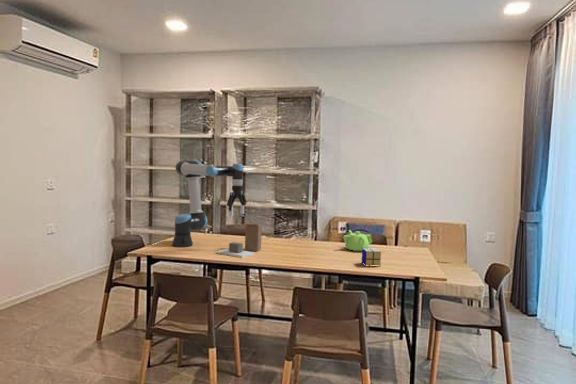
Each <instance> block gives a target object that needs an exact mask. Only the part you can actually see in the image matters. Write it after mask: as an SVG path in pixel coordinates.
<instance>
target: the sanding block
mask: <svg viewBox="0 0 576 384" xmlns="http://www.w3.org/2000/svg"><path fill="white" fill-rule="evenodd" d="M243 246H244V244H243V243H241V242H234V241H233V242H229V244H228V248H229V252H234V253H241V252H242V251H244V249H243Z"/></svg>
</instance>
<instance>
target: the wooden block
mask: <svg viewBox="0 0 576 384" xmlns="http://www.w3.org/2000/svg"><path fill="white" fill-rule="evenodd" d="M262 227H263V225H262V223H261V222H253V221H252V222H248V223H246V224H245V232H244V233H245V234H244V235H245V237H244V251H249V252H254V253H255V252H260V251H261V249H262Z"/></svg>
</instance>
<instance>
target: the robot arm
mask: <svg viewBox="0 0 576 384" xmlns="http://www.w3.org/2000/svg"><path fill="white" fill-rule="evenodd" d="M174 168H175V173H177V174H178V175H179V176H184V177H185V179H186V180H187V183H188V184H187V185H188V196H189V197H188V198H189V199H188V200H189V209H190V210H189V212H188V213H181V214H177V215H176V216H175V218H174V219H175V220H174V236H173V239H172V243H171V245H172V247H175V248H176V247H177V248H186V247H187V248H188V247H192V246H193V244H194V242H193V241H192V235H191V233H192V232H191V231H200V230H203V229H206V227H207V225H208V219H209V218H208V217H207V215H206V214H205V211H203V210H202V201H201V200H202V199H201V186H200V179H201V178H202V176H208V177H232V178H231V179H232V180H231V185H232V186H231V190H232V191H230V192H229V196H228V198H227V203H226V206H227V207H228V216H232V217H233V215H234V213H233V212H234V206H233V205H234V203H235V202H236V200H237V199H238V200H239V203H240V211H239V212H240V213H239V214H240V215H244V214H245V206H246V204H247V200H246V196H245V192H244V191H243V183H244V180H243V179H244V178H243V177H244V165H243V164H242V163H233V164H232V166H229V165H211V164H209V165H208V164H202V163H201V162H200V161H197V160H179V161H178V162H177V163H176V165H175V167H174Z"/></svg>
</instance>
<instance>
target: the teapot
mask: <svg viewBox="0 0 576 384" xmlns="http://www.w3.org/2000/svg"><path fill="white" fill-rule="evenodd" d="M348 232H349V234H348V235H347V234H346V235H345V234H344V235H343V236H342V238H343V241H344V242H345V245H344V246H345V248H346V249H347V250H348V249H349V251H351V250H353V251H352V252H362V249H370V244H372V242H373V240H372V234H369V233H368V234H364V233H361V231H358V230H357V231H355V232H354V233H353V232H352V230H350V229H349V230H348Z"/></svg>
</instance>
